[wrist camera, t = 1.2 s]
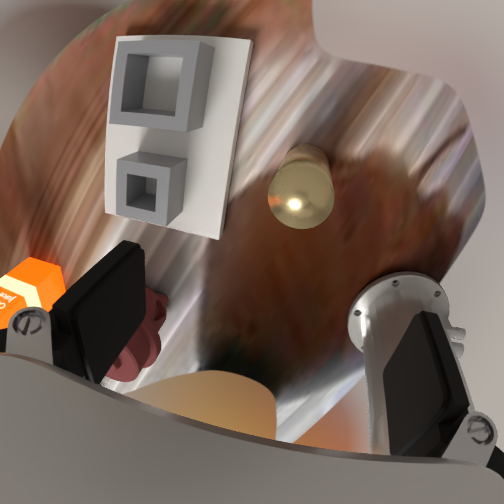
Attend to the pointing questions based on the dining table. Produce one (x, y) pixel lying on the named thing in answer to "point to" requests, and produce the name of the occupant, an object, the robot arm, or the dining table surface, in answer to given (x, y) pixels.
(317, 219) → the brass pipe fitting
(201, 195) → the plate
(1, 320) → the orange juice
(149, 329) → the mechanical component
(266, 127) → the dining table surface
